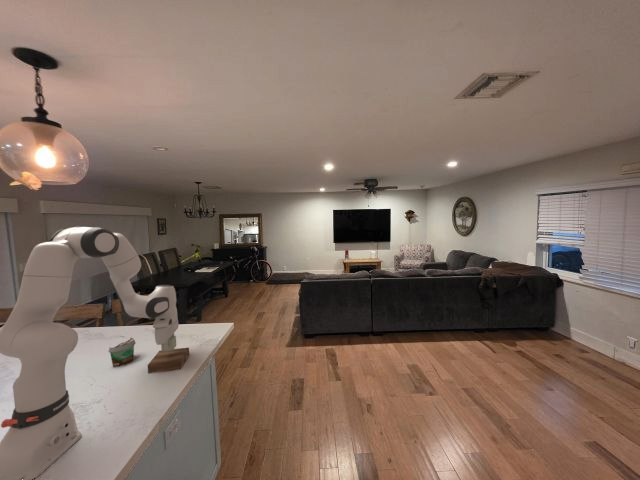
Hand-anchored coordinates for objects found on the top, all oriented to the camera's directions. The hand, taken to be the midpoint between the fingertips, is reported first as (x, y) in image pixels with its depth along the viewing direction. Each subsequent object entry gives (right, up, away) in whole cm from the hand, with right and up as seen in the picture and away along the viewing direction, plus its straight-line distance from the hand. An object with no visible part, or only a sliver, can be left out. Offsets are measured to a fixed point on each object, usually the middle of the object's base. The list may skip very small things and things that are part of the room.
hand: (169, 345), depth 130 cm
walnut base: (0, -9, +1) cm, 9 cm away
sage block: (0, -2, 0) cm, 2 cm away
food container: (-23, -10, +3) cm, 25 cm away
